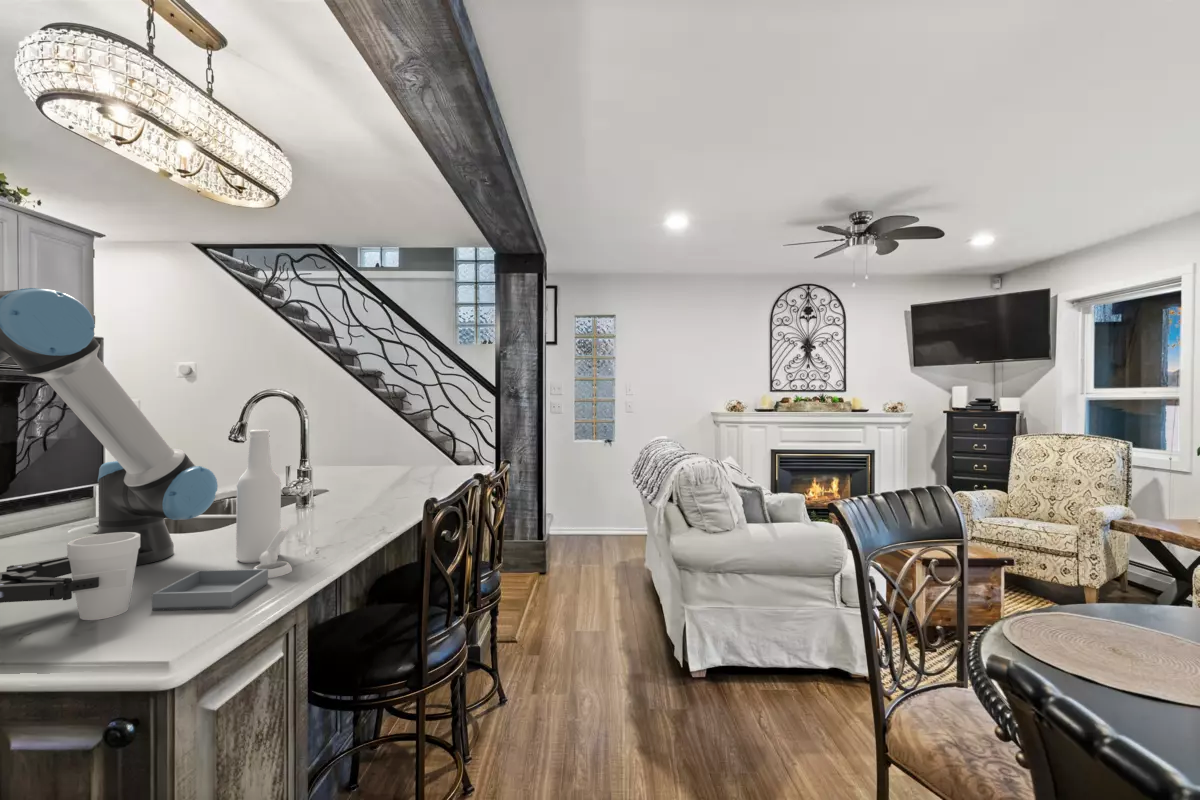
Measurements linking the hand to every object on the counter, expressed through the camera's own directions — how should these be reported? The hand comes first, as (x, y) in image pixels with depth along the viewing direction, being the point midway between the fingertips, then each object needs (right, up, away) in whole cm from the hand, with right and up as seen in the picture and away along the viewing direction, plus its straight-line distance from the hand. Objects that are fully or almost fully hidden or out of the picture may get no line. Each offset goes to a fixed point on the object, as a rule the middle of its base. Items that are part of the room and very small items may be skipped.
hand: (130, 566), depth 98 cm
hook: (+13, -8, +21) cm, 26 cm away
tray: (+10, -8, +6) cm, 14 cm away
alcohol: (+4, -7, +31) cm, 32 cm away
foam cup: (-3, -8, -2) cm, 8 cm away
